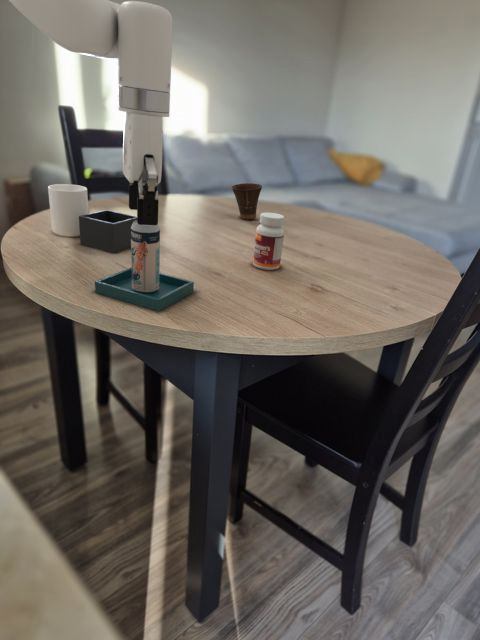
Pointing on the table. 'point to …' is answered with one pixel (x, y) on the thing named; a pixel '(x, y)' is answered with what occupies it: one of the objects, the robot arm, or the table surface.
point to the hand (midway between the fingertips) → (142, 216)
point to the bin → (106, 230)
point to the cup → (247, 199)
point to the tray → (157, 300)
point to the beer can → (145, 257)
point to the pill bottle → (269, 241)
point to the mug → (67, 208)
